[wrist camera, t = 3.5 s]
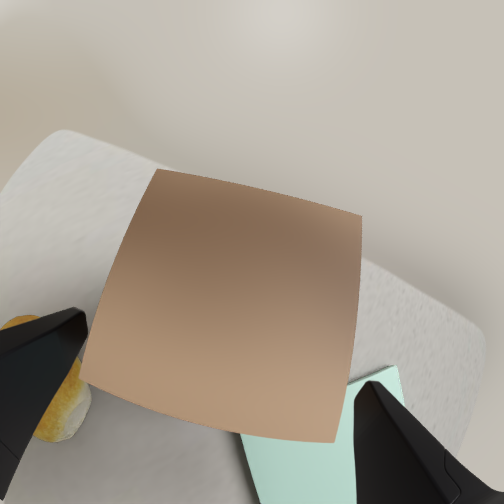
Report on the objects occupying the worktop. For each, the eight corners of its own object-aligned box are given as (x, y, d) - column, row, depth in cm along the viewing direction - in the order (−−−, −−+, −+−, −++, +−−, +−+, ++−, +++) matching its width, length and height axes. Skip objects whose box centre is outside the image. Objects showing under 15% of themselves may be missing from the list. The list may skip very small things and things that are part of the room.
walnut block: (258, 392, 15) (334, 443, 4) (178, 372, 15) (78, 378, 4) (275, 315, 17) (361, 215, 6) (198, 297, 17) (157, 168, 6)
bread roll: (33, 301, 15) (2, 285, 12) (110, 376, 14) (81, 376, 11) (-3, 377, 12) (-35, 373, 8) (67, 457, 11) (38, 469, 7)
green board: (408, 482, 12) (414, 485, 11) (272, 538, 10) (274, 544, 9) (390, 365, 16) (396, 365, 15) (235, 415, 14) (236, 417, 13)
